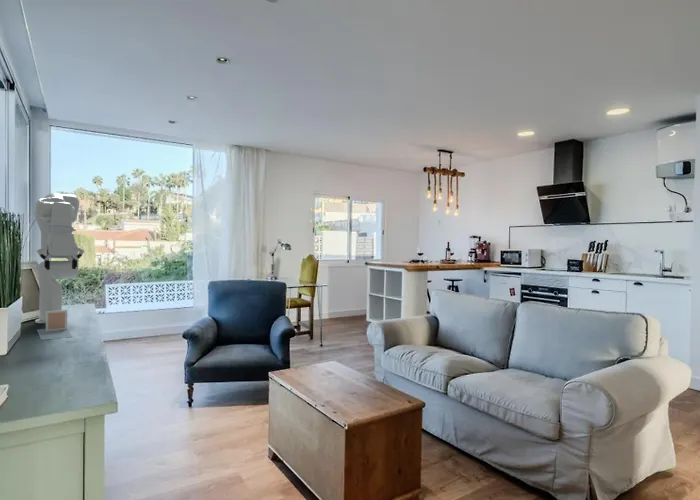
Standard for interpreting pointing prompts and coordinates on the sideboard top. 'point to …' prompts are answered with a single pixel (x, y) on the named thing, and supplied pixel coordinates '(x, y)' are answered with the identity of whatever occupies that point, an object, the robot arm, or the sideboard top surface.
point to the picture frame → (56, 320)
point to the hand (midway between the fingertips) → (61, 269)
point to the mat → (53, 334)
